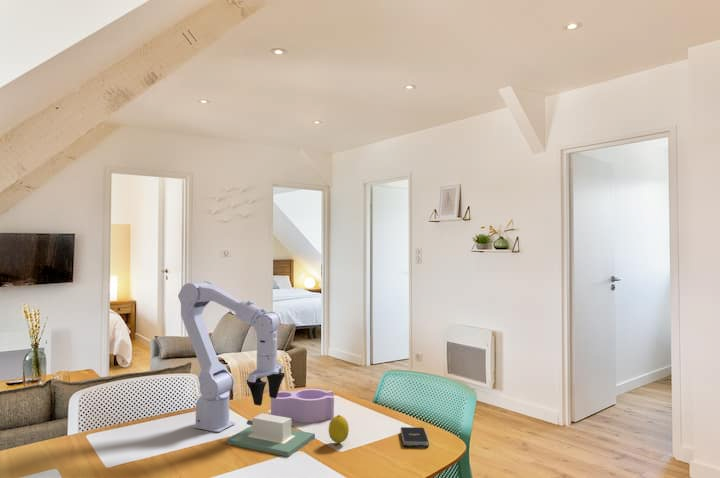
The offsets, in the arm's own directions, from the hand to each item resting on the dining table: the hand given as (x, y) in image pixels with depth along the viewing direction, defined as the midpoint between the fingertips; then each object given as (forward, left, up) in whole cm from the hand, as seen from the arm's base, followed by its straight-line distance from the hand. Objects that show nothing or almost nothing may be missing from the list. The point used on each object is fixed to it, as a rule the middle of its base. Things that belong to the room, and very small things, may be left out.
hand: (265, 401), depth 143 cm
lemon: (+23, +2, -10) cm, 25 cm away
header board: (+5, -4, -9) cm, 11 cm away
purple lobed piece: (+2, +18, -10) cm, 20 cm away
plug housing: (+3, -4, -8) cm, 9 cm away
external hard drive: (+41, +14, -10) cm, 44 cm away
